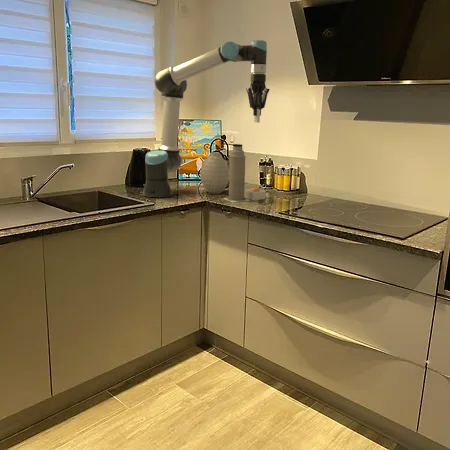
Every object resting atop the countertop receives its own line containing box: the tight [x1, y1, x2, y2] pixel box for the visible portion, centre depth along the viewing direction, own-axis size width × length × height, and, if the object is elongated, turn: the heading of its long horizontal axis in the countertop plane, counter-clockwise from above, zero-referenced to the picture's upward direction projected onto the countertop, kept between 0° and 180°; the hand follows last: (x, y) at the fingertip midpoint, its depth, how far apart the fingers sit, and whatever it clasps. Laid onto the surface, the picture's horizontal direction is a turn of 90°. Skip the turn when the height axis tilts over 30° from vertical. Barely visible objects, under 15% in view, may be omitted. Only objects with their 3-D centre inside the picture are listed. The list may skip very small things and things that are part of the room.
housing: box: [244, 189, 267, 201], centre depth 247 cm, size 8×8×4 cm
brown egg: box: [250, 187, 260, 192], centre depth 247 cm, size 4×4×4 cm
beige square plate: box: [223, 197, 251, 203], centre depth 243 cm, size 10×10×1 cm
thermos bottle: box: [228, 143, 246, 200], centre depth 239 cm, size 8×8×28 cm
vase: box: [199, 151, 229, 195], centre depth 259 cm, size 16×16×22 cm
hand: (256, 122), depth 238 cm, fingers closed
